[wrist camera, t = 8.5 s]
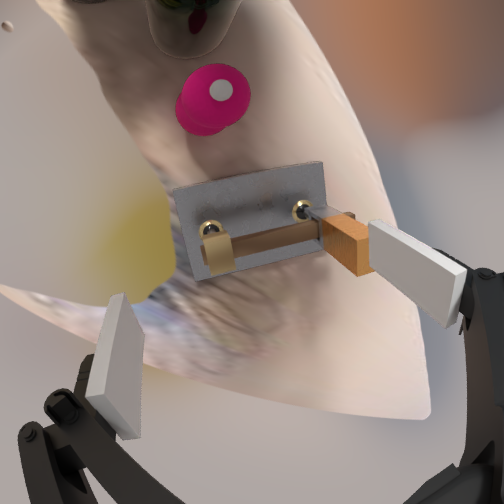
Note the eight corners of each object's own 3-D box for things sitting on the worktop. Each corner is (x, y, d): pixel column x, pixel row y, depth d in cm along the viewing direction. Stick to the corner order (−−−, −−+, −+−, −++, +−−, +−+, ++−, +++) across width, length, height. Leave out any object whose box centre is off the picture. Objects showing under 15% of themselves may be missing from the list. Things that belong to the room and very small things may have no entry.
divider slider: (293, 201, 44) (357, 240, 28) (312, 197, 44) (381, 234, 29) (296, 227, 45) (357, 276, 30) (315, 223, 46) (380, 269, 30)
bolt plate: (172, 189, 41) (172, 191, 40) (318, 161, 45) (323, 162, 43) (194, 277, 47) (195, 282, 45) (325, 244, 50) (330, 248, 49)
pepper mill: (236, 122, 40) (284, 112, 22) (189, 145, 40) (199, 151, 22) (214, 78, 37) (246, 33, 19) (167, 100, 36) (158, 69, 18)
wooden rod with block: (194, 222, 42) (199, 245, 34) (325, 194, 45) (358, 209, 37) (200, 248, 44) (207, 276, 35) (328, 219, 47) (359, 238, 38)
